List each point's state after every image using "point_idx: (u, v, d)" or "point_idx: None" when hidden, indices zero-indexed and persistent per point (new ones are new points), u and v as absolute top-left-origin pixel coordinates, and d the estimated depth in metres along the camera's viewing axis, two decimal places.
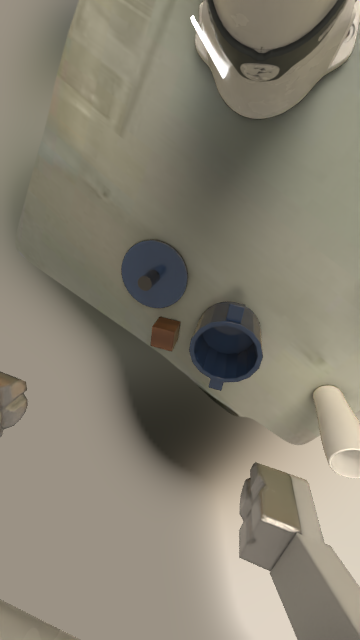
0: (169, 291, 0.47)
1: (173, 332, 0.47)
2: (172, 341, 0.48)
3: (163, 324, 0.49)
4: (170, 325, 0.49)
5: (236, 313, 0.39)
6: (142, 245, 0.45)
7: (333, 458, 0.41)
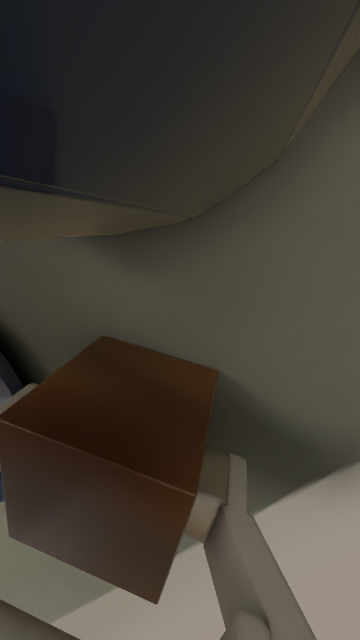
0: None
1: (2, 427, 0.05)
2: (86, 458, 0.05)
3: None
4: None
5: None
6: None
7: None
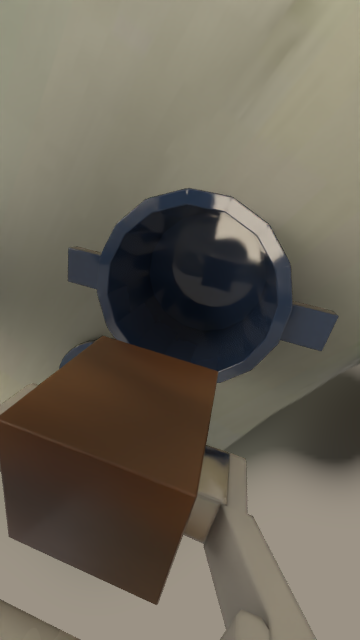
0: None
1: (2, 428, 0.05)
2: (86, 459, 0.05)
3: None
4: None
5: (84, 267, 0.17)
6: None
7: None
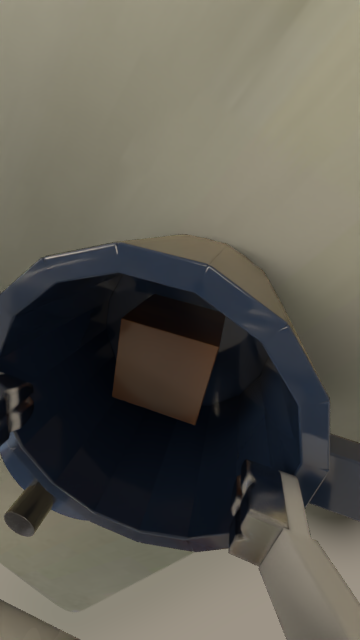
0: None
1: (123, 323, 0.11)
2: (166, 335, 0.11)
3: None
4: None
5: None
6: (11, 468, 0.24)
7: None
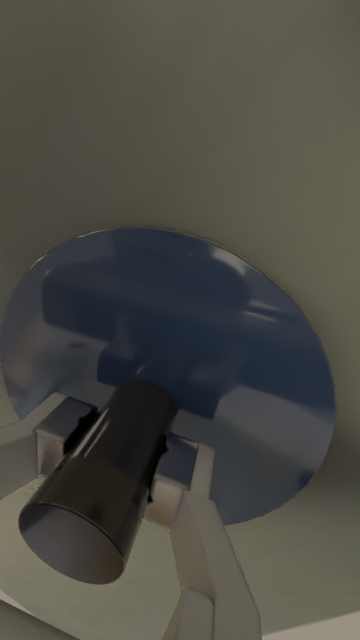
0: (227, 348, 0.08)
1: None
2: None
3: None
4: None
5: None
6: (26, 413, 0.11)
7: None
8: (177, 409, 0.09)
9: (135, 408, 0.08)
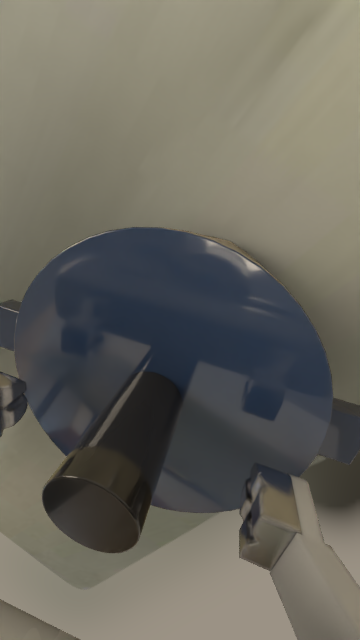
0: (230, 340, 0.08)
1: None
2: None
3: None
4: None
5: None
6: (39, 405, 0.12)
7: None
8: (183, 399, 0.10)
9: (145, 396, 0.08)
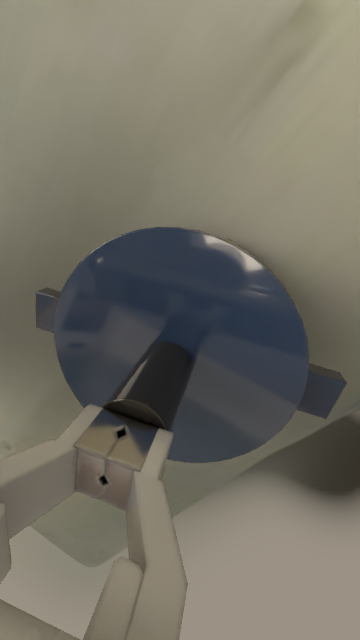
0: (230, 314, 0.11)
1: None
2: None
3: None
4: None
5: (54, 313, 0.15)
6: (72, 374, 0.14)
7: None
8: (193, 363, 0.12)
9: (165, 357, 0.11)
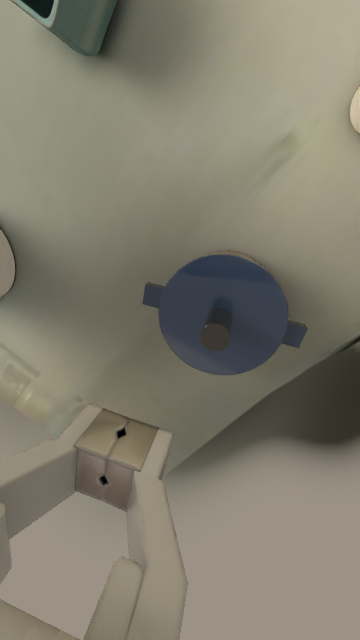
0: (252, 293, 0.24)
1: None
2: None
3: None
4: None
5: (155, 295, 0.27)
6: (166, 327, 0.27)
7: None
8: (232, 318, 0.25)
9: (222, 313, 0.23)
